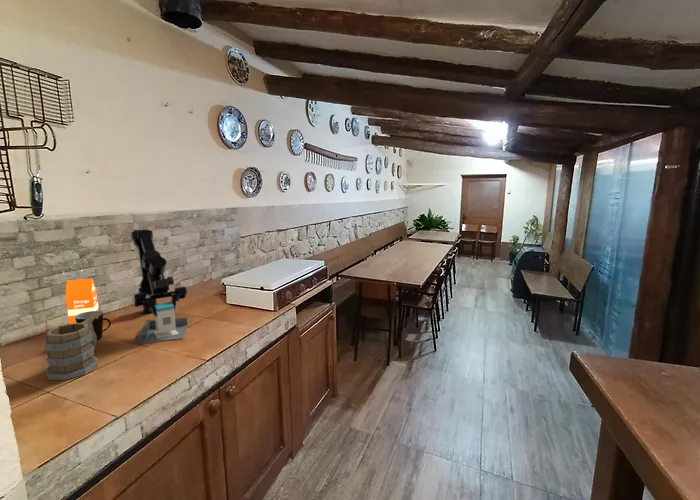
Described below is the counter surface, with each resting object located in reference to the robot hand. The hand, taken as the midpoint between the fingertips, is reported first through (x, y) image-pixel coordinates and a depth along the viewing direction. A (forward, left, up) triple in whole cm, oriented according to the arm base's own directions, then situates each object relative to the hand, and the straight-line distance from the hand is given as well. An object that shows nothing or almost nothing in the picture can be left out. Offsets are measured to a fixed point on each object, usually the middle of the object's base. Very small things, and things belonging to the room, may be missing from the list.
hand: (165, 314), depth 137 cm
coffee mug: (-2, -26, -9) cm, 27 cm away
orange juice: (-20, -35, -9) cm, 41 cm away
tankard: (+18, -23, -9) cm, 30 cm away
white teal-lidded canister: (-1, -1, -7) cm, 7 cm away
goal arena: (-1, -1, -9) cm, 9 cm away
